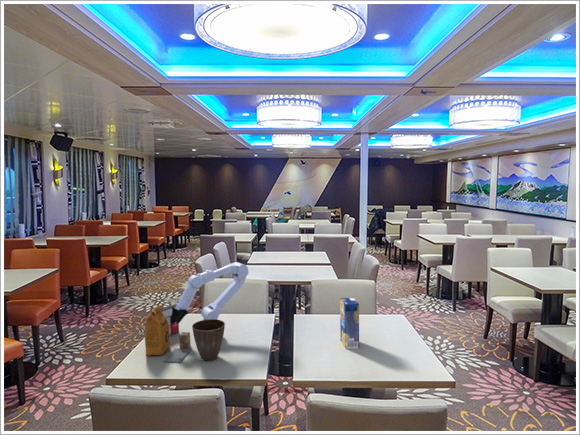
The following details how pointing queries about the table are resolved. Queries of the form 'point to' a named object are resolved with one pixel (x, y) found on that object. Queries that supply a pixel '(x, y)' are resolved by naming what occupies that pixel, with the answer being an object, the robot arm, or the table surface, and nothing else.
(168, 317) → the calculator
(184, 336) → the walnut block
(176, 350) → the rubber mat
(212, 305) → the robot arm
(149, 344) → the coffee package
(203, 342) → the plant pot
